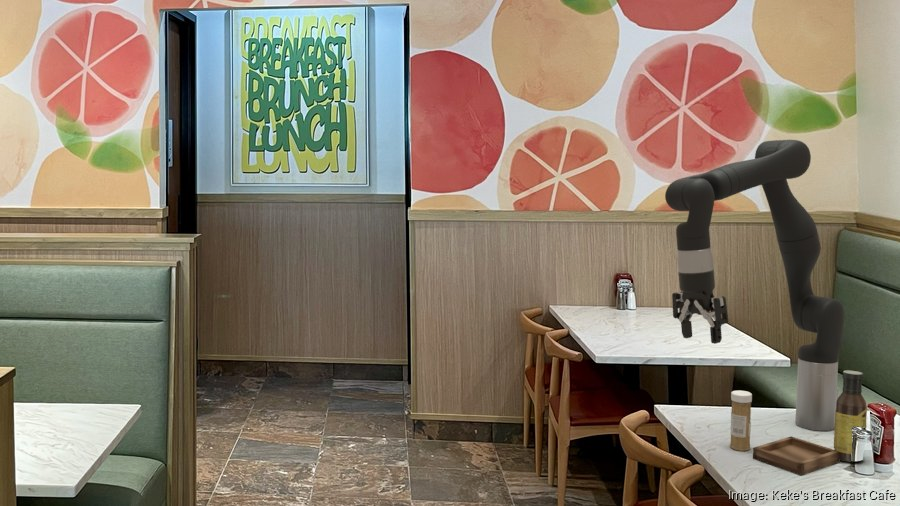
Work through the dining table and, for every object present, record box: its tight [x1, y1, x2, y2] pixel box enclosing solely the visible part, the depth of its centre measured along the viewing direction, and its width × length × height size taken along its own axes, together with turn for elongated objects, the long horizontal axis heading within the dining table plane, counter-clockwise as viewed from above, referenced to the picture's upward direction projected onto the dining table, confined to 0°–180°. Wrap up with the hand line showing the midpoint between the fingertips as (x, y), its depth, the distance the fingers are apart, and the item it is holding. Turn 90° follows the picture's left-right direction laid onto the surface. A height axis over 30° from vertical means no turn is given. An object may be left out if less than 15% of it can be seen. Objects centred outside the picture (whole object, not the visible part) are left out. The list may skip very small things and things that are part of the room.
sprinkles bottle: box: [729, 389, 753, 452], centre depth 181 cm, size 5×5×13 cm
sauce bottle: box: [833, 369, 868, 463], centre depth 173 cm, size 6×6×20 cm
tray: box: [752, 436, 840, 476], centre depth 173 cm, size 14×12×2 cm
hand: (701, 340), depth 172 cm, fingers open, 8 cm apart
